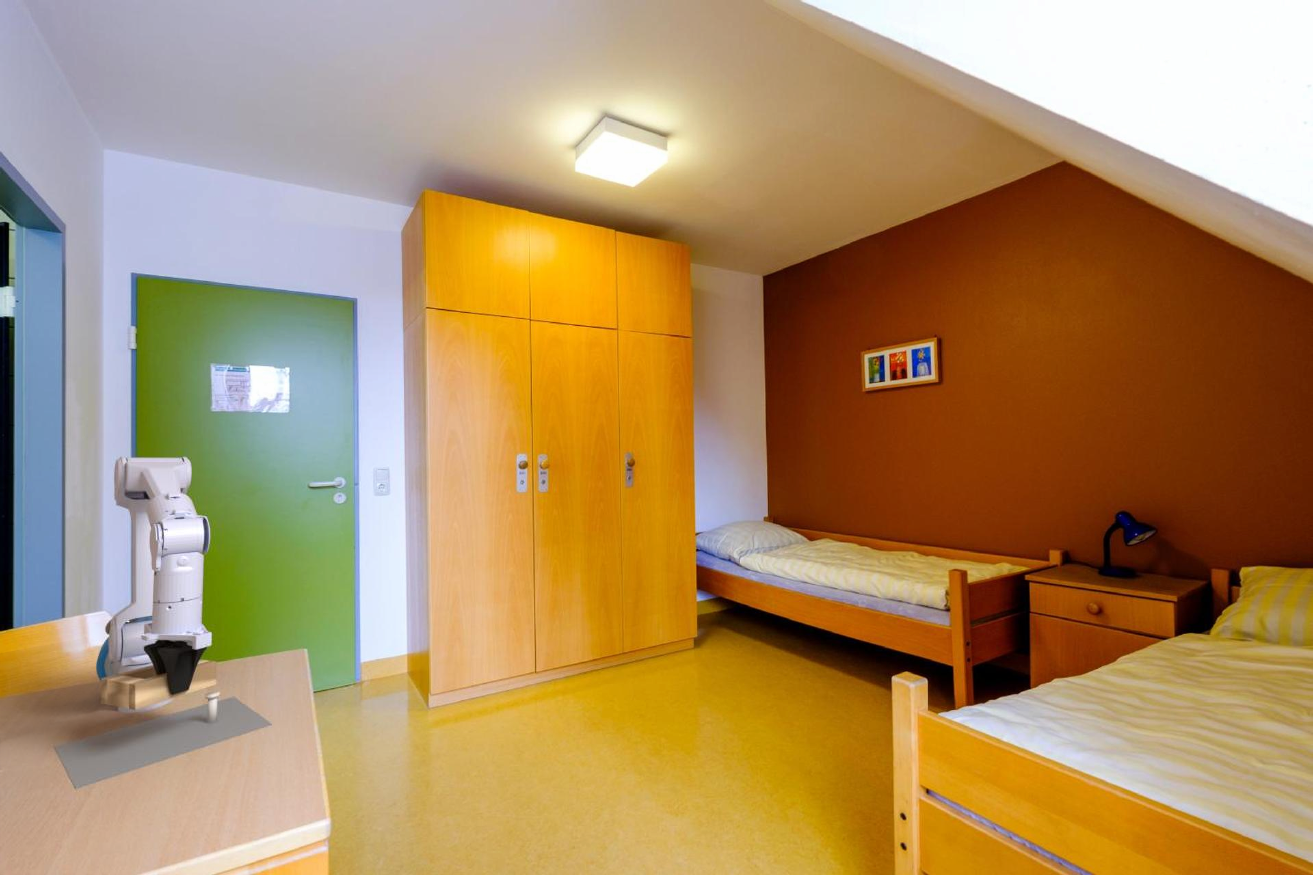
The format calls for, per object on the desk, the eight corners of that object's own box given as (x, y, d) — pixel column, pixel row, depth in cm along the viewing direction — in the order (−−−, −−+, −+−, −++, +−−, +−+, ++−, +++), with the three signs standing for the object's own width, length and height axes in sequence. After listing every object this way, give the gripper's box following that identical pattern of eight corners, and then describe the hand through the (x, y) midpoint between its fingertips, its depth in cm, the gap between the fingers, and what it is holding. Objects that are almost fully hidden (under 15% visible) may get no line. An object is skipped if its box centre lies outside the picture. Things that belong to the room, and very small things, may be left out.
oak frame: (101, 702, 83) (101, 678, 83) (181, 678, 92) (181, 657, 92) (135, 710, 79) (135, 684, 79) (216, 684, 88) (215, 661, 88)
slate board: (53, 754, 82) (55, 716, 83) (233, 703, 100) (234, 671, 100) (75, 798, 72) (77, 753, 72) (272, 731, 89) (273, 696, 90)
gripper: (119, 599, 84) (116, 692, 83) (171, 610, 78) (168, 710, 77) (176, 589, 90) (173, 675, 90) (228, 598, 84) (225, 691, 83)
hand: (175, 690), depth 84 cm, fingers closed on oak frame, 2 cm apart
